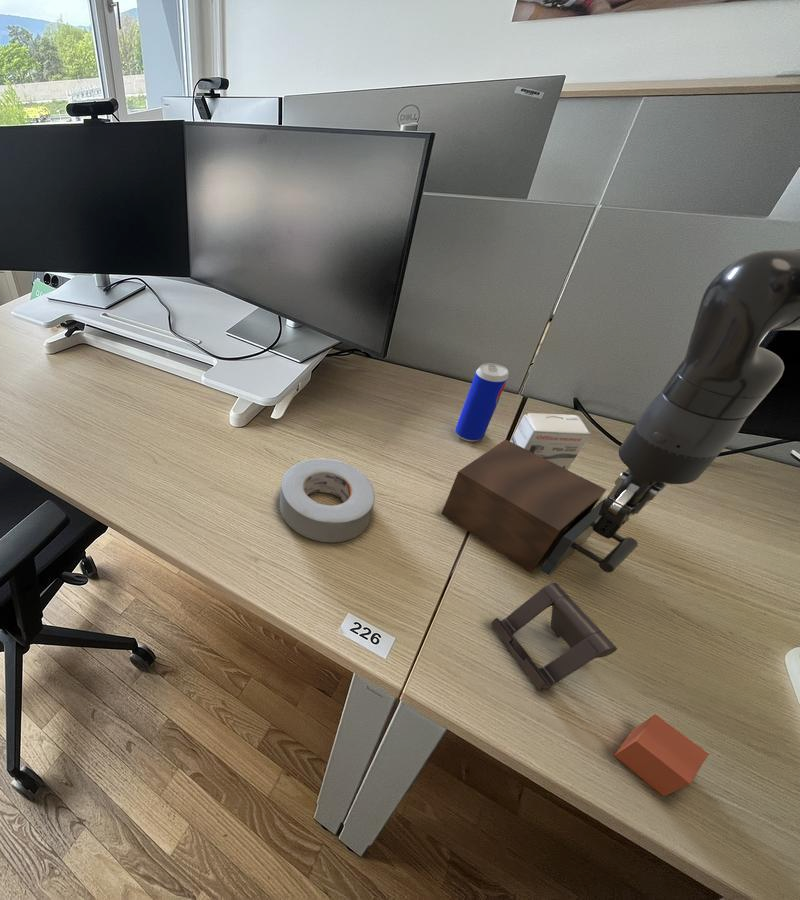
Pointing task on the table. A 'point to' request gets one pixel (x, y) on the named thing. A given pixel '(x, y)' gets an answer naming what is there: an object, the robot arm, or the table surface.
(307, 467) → the tape roll
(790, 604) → the table surface
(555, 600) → the tablet stand
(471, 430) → the beverage can
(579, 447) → the ink box
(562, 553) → the drawer
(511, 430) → the table surface
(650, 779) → the block
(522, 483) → the cabinet
